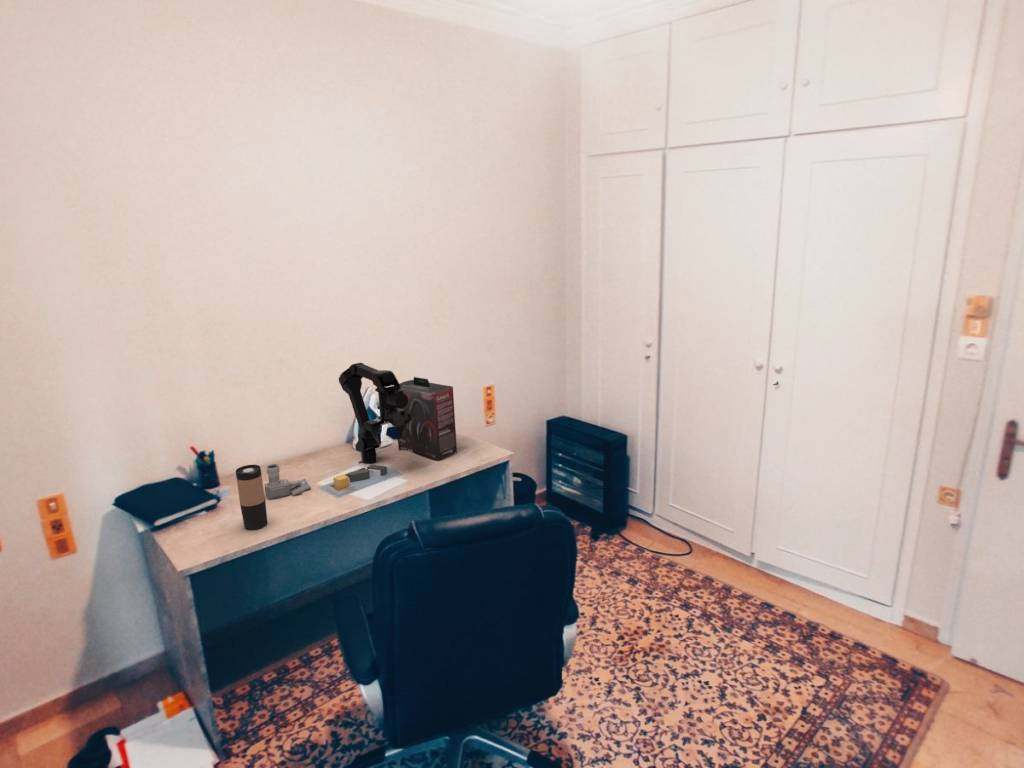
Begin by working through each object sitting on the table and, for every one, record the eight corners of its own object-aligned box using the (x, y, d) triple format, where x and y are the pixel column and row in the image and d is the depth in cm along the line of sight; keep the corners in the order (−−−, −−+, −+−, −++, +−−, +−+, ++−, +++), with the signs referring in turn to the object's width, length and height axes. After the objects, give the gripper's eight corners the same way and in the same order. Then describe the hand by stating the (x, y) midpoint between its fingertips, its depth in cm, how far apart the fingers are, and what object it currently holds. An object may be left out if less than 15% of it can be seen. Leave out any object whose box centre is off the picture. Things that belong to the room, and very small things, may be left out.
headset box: (396, 450, 269) (391, 376, 260) (417, 442, 278) (412, 370, 270) (438, 462, 254) (433, 384, 246) (458, 452, 264) (454, 378, 256)
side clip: (341, 481, 235) (340, 475, 234) (364, 473, 242) (363, 467, 241) (348, 485, 231) (347, 478, 231) (371, 476, 239) (370, 470, 238)
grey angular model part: (260, 464, 225) (303, 456, 233) (264, 493, 228) (305, 485, 236) (265, 471, 218) (308, 463, 225) (268, 502, 221) (311, 493, 228)
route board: (317, 489, 230) (316, 480, 229) (382, 467, 250) (381, 458, 249) (337, 500, 221) (336, 490, 220) (403, 476, 241) (402, 467, 240)
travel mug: (248, 520, 207) (239, 465, 202) (271, 519, 208) (263, 463, 203) (240, 531, 200) (231, 474, 195) (264, 529, 201) (256, 472, 196)
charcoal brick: (349, 479, 236) (348, 472, 236) (367, 476, 239) (366, 469, 238) (350, 482, 234) (349, 475, 233) (369, 479, 236) (368, 471, 236)
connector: (334, 490, 227) (333, 477, 226) (344, 486, 230) (343, 474, 229) (340, 493, 225) (339, 480, 223) (349, 489, 227) (348, 477, 226)
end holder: (326, 490, 227) (326, 485, 227) (343, 484, 232) (343, 479, 232) (338, 496, 222) (337, 491, 221) (355, 489, 227) (355, 485, 226)
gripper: (378, 413, 225) (381, 453, 229) (419, 402, 238) (421, 440, 242) (361, 407, 233) (364, 446, 237) (401, 397, 246) (404, 434, 250)
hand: (389, 442), depth 241 cm, fingers open, 9 cm apart
